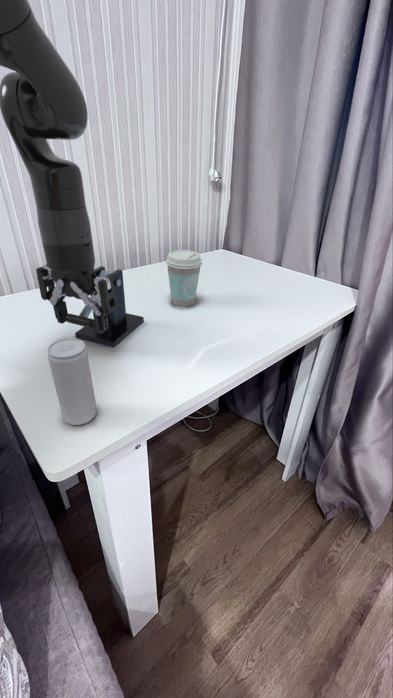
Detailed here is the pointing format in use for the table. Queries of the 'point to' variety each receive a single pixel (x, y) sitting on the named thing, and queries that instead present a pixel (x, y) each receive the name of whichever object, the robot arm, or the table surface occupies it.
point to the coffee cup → (183, 276)
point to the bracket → (113, 317)
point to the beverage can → (72, 380)
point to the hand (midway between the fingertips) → (82, 326)
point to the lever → (85, 311)
